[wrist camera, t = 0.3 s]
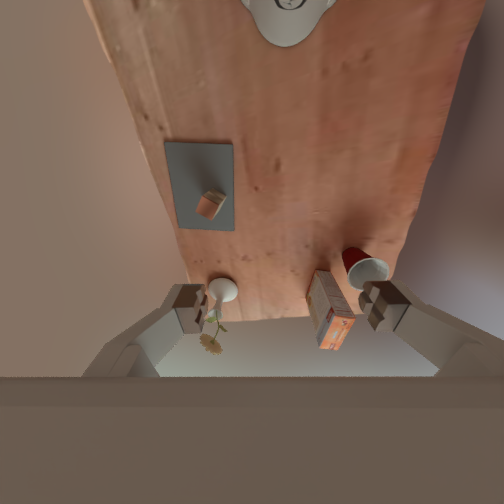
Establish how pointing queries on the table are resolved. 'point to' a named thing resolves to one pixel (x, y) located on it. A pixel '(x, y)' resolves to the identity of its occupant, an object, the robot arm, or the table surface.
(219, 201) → the birch block
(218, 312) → the flower in vase
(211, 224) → the slate mat
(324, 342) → the cracker box
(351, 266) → the plastic cup
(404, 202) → the table surface
